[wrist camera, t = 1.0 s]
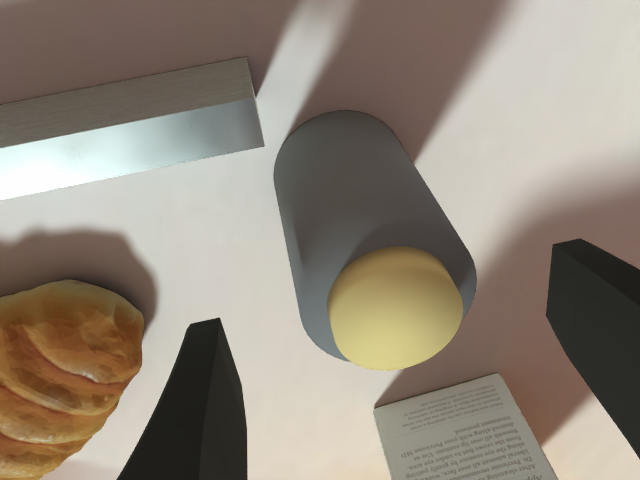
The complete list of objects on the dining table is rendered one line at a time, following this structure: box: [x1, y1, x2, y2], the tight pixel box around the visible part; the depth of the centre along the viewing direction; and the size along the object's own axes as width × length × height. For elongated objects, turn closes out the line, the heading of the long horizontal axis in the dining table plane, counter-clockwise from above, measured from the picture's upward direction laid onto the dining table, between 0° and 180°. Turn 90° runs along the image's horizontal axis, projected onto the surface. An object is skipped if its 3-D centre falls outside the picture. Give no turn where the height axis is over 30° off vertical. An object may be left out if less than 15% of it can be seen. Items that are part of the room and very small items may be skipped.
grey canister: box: [274, 110, 477, 371], centre depth 16 cm, size 4×4×7 cm
